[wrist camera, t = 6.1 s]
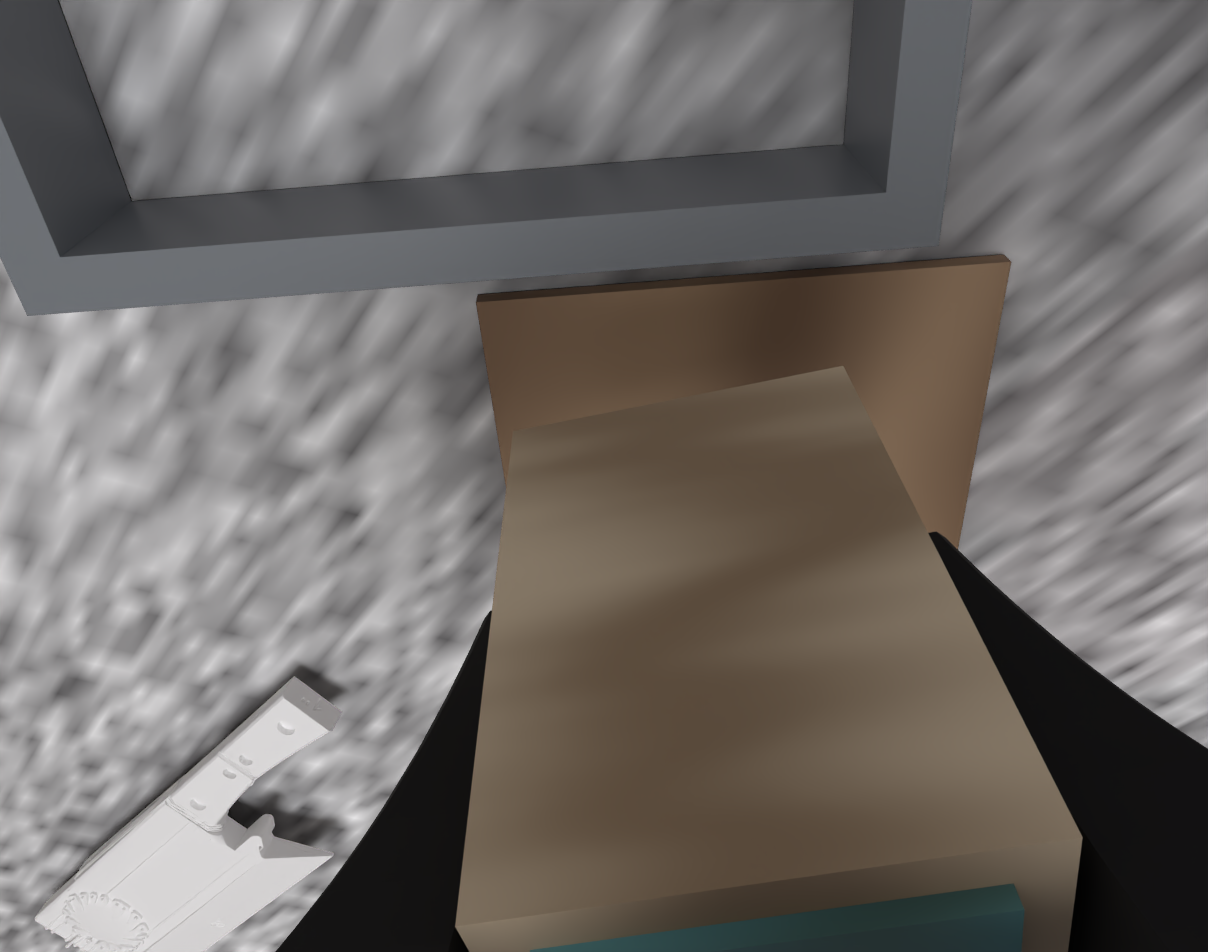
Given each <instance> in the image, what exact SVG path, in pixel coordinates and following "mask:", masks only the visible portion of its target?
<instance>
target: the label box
mask: <svg viewBox="0 0 1208 952" xmlns="http://www.w3.org/2000/svg"><path fill="white" fill-rule="evenodd" d="M1082 839H1083V837H1082V835H1081V833H1080V831H1079V829H1078V827H1077V825H1076V823H1075V821H1074V819H1073V818H1072V816H1071V814H1070V812H1069V810H1068V808H1067V806H1066V804H1065V802H1064V800H1063V798H1062V796H1061V794H1060V792H1059V790H1058V788H1057V786H1056V784H1055V782H1054V780H1053V778H1052V776H1051V774H1050V772H1049V770H1048V768H1047V766H1046V764H1045V762H1044V760H1043V758H1042V756H1041V754H1040V753H1039V751H1038V749H1037V747H1036V745H1035V743H1034V741H1033V739H1032V737H1031V735H1030V733H1029V731H1028V729H1027V727H1026V725H1025V723H1024V721H1023V719H1022V717H1021V715H1020V713H1019V711H1018V709H1017V707H1016V705H1015V703H1014V701H1013V699H1012V697H1011V695H1010V693H1009V691H1008V689H1007V687H1006V686H1005V684H1004V682H1003V680H1002V678H1001V676H1000V674H999V672H998V670H997V668H996V666H995V664H994V662H993V660H992V658H991V656H990V654H989V652H988V650H987V648H986V646H985V644H984V642H983V640H982V638H981V636H980V634H979V632H978V630H977V628H976V626H975V624H974V622H973V620H972V619H971V617H970V615H969V613H968V611H967V609H966V607H965V605H964V603H963V601H962V599H961V597H960V595H959V593H958V591H957V589H956V587H955V585H954V583H953V581H952V579H951V577H950V575H949V573H948V571H947V569H946V567H945V565H944V563H943V561H942V559H941V557H940V555H939V553H938V552H937V550H936V548H935V546H934V544H933V542H932V540H931V538H930V536H929V534H928V532H927V530H926V528H925V526H924V524H923V522H922V520H921V518H920V516H919V514H918V512H917V510H916V508H915V506H914V504H913V502H912V500H911V498H910V496H909V494H908V492H907V490H906V488H905V487H904V485H903V483H902V481H901V479H900V477H899V475H898V473H897V471H896V469H895V467H894V465H893V463H892V461H891V459H890V457H889V455H888V453H887V451H886V449H885V447H884V445H883V443H882V441H881V439H880V437H879V435H878V433H877V431H876V429H875V427H874V425H873V423H872V421H871V420H870V418H869V416H868V414H867V412H866V410H865V408H864V406H863V404H862V402H861V400H860V398H859V396H858V394H857V392H856V390H855V388H854V386H853V384H852V382H851V380H850V378H849V376H848V374H847V372H846V370H845V368H844V366H839V367H834V368H829V369H824V370H819V371H814V372H809V373H804V374H799V375H794V376H789V377H784V378H779V379H774V380H769V381H764V382H759V383H754V384H749V385H744V386H739V387H734V388H729V389H724V390H718V391H713V392H708V393H703V394H698V395H693V396H688V397H683V398H678V399H673V400H668V401H663V402H658V403H653V404H648V405H643V406H638V407H633V408H628V409H623V410H618V411H613V412H608V413H603V414H597V415H592V416H587V417H582V418H577V419H572V420H567V421H562V422H557V423H552V424H547V425H542V426H537V427H532V428H527V429H522V430H517V431H513V435H512V444H511V452H510V461H509V469H508V478H507V487H506V495H505V504H504V512H503V521H502V529H501V538H500V547H499V555H498V564H497V572H496V581H495V589H494V598H493V607H492V615H491V624H490V632H489V641H488V649H487V658H486V667H485V675H484V684H483V692H482V701H481V709H480V718H479V727H478V735H477V744H476V752H475V761H474V769H473V778H472V787H471V795H470V804H469V812H468V821H467V829H466V838H465V847H464V855H463V864H462V872H461V881H460V889H459V898H458V907H457V915H456V924H455V927H456V929H457V931H458V933H459V934H460V936H461V938H462V940H463V941H464V943H465V945H466V947H467V948H468V950H469V952H1068V947H1069V939H1070V931H1071V923H1072V916H1073V908H1074V900H1075V893H1076V885H1077V877H1078V869H1079V862H1080V854H1081V846H1082Z"/></svg>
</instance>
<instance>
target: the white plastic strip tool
mask: <svg viewBox="0 0 1208 952" xmlns="http://www.w3.org/2000/svg"><path fill="white" fill-rule="evenodd" d="M341 714H342V711H341V710H339V709H338V708H337V707H335V706H334V705H333V704H331V703H330V702H329V701H327V700H326V699H325V698H323V697H322V696H321V695H319V694H318V693H317V692H315V691H314V690H312V689H311V688H310V687H308V686H307V685H306V684H304V683H303V682H302V681H300V680H299V679H298V678H296V677H295V676H294V677H293V678H291V679H290V680H289V681H288V682H287V683H286V684H285V685H284V686H283V687H282V688H280V689H279V690H278V691H277V692H276V693H275V694H274V695H273V696H272V697H271V698H269V699H268V700H267V701H266V702H265V703H264V704H263V705H262V706H261V707H260V708H258V709H257V710H256V711H255V712H254V713H253V714H252V715H251V716H250V717H249V718H247V719H246V720H245V721H244V722H243V723H242V724H241V725H240V726H239V727H238V728H236V729H235V730H234V731H233V732H232V733H231V734H230V735H229V736H228V737H227V738H225V739H224V740H223V741H222V742H221V743H220V744H219V745H218V746H217V747H215V748H214V749H213V750H212V751H211V752H210V753H209V754H208V755H206V756H205V757H204V758H203V759H202V760H201V761H200V762H199V763H198V764H196V765H195V766H194V767H193V768H192V769H191V770H190V771H189V772H188V773H186V774H185V775H184V776H182V777H181V778H180V779H179V780H180V781H179V780H178V781H179V782H178V781H177V782H175V783H174V784H173V785H172V786H171V787H170V788H168V789H167V790H166V791H165V792H166V793H165V792H164V793H165V794H164V793H163V794H164V795H163V794H162V795H163V796H162V795H160V796H159V797H158V798H159V799H158V798H157V799H158V800H157V799H156V800H157V801H156V800H155V801H156V802H155V801H153V802H152V803H151V804H153V803H154V802H155V803H154V804H153V805H151V804H150V805H151V806H150V805H149V806H150V807H149V806H148V807H149V808H148V807H146V808H145V809H144V810H146V809H147V808H148V809H147V810H146V811H144V810H143V811H144V812H143V811H142V812H143V813H142V812H141V813H142V814H141V813H139V814H138V815H137V816H136V817H138V816H139V815H140V814H141V815H140V816H139V817H138V818H136V817H135V818H136V819H135V818H134V819H135V820H134V819H132V820H131V821H130V822H129V823H131V822H132V821H133V820H134V821H133V822H132V823H131V824H129V823H128V824H129V825H128V824H127V825H128V826H127V825H126V826H127V827H126V826H124V827H123V828H122V829H124V828H125V827H126V828H125V829H124V830H122V829H121V830H122V831H121V830H120V831H121V832H120V831H119V832H120V833H121V834H120V833H119V832H117V833H116V834H115V835H117V834H118V833H119V834H118V835H117V836H115V835H114V836H115V837H114V836H113V837H114V838H113V837H112V838H113V839H114V840H113V839H112V838H110V839H109V840H108V841H107V842H108V843H107V842H106V843H107V844H106V843H105V844H106V845H105V844H104V845H105V846H106V847H105V846H104V845H102V846H101V847H100V848H99V849H100V850H99V849H98V850H99V851H98V850H97V851H98V852H100V851H101V850H102V849H103V848H104V847H105V848H104V849H103V850H102V851H101V852H100V853H98V852H97V851H96V852H97V853H98V854H97V853H96V852H95V853H96V854H97V855H96V854H95V853H93V854H92V855H91V856H90V857H91V858H90V857H89V858H90V859H92V858H93V857H94V856H95V855H96V856H95V857H94V858H93V859H92V860H91V861H90V862H89V863H87V862H88V861H89V860H90V859H89V858H88V859H89V860H88V859H87V860H88V861H87V860H86V861H87V862H86V861H85V862H86V863H87V864H86V863H85V862H84V863H83V865H82V866H81V867H80V868H79V870H80V871H79V872H77V873H76V874H75V875H74V876H73V877H72V878H71V879H70V880H69V881H68V882H66V883H65V884H64V885H63V886H62V887H61V888H60V889H59V890H58V891H56V892H55V893H54V894H53V895H52V896H51V897H50V898H49V899H48V900H47V902H46V903H45V904H44V906H43V907H42V909H41V910H40V911H39V913H38V914H37V915H36V917H35V921H37V922H38V923H40V924H41V925H43V926H45V929H46V930H47V929H48V930H49V929H50V930H51V933H52V934H53V933H56V934H58V935H60V936H61V937H63V938H65V941H66V942H67V941H70V943H68V944H67V945H66V946H65V947H66V948H68V947H70V945H71V944H72V943H73V944H74V945H73V946H74V947H76V946H78V947H80V950H81V951H82V950H85V951H86V952H204V951H205V950H206V949H208V948H209V947H210V946H212V945H213V944H214V943H216V942H217V941H219V940H220V939H221V938H223V937H224V936H225V935H227V934H228V933H229V932H231V931H232V930H233V929H235V928H236V927H238V926H239V925H240V924H242V923H243V922H244V921H246V920H247V919H248V918H250V917H251V916H252V915H254V914H255V913H257V912H258V911H259V910H261V909H262V908H263V907H265V906H266V905H267V904H269V903H270V902H271V901H273V900H274V899H275V898H277V897H278V896H280V895H281V894H282V893H284V892H285V891H286V890H288V889H289V888H290V887H292V886H293V885H294V884H296V883H297V882H299V881H300V880H301V879H303V878H304V877H305V876H307V875H308V874H309V873H311V872H312V871H313V870H315V869H316V868H317V867H319V866H320V865H322V864H323V863H324V862H326V861H327V860H328V859H330V858H331V857H332V856H333V855H334V853H332V852H329V851H325V850H322V849H318V848H314V847H311V846H307V845H304V844H300V843H296V842H293V841H289V840H286V839H282V838H278V837H275V836H274V835H273V833H272V830H273V829H274V827H275V823H274V818H273V816H272V815H270V814H265V815H262V816H261V817H260V818H259V819H258V820H257V821H256V822H254V823H253V824H252V825H251V826H250V827H249V828H248V829H246V828H245V827H243V826H242V825H240V824H239V823H237V822H236V821H235V820H233V819H232V818H230V817H229V816H228V812H229V809H230V807H231V806H232V805H233V804H234V803H235V802H236V800H237V799H238V798H239V797H240V796H241V795H242V794H243V793H244V792H245V790H246V789H247V788H248V787H249V786H252V785H253V783H254V781H255V780H256V779H257V778H258V777H260V776H261V775H263V774H264V773H265V772H267V771H268V770H270V769H271V768H273V767H274V766H276V765H277V764H279V763H280V762H282V761H283V760H285V759H286V758H288V757H290V756H291V755H293V754H294V753H296V752H297V751H299V750H301V749H302V748H304V747H305V746H307V745H309V744H310V743H312V742H314V741H315V740H317V739H319V738H320V737H322V736H324V735H325V734H327V733H329V732H331V731H332V730H333V729H334V727H335V725H336V723H337V721H338V720H339V718H340V716H341ZM111 839H112V840H113V841H112V840H111ZM110 840H111V841H112V842H111V841H110ZM109 841H110V842H111V843H110V842H109ZM109 843H110V844H109ZM103 846H104V847H103ZM102 847H103V848H102ZM101 848H102V849H101ZM94 854H95V855H94ZM93 855H94V856H93ZM84 865H85V866H84ZM83 866H84V867H83ZM82 867H83V868H82ZM81 868H82V869H81Z"/></svg>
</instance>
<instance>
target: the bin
mask: <svg viewBox="0 0 1208 952" xmlns="http://www.w3.org/2000/svg"><path fill="white" fill-rule="evenodd" d="M971 6H972V0H854V10H853V24H852V38H851V52H850V65H849V79H848V93H847V107H846V121H845V134H844V145H832V146H820V147H807V148H795V149H782V150H769V151H757V152H744V153H732V154H719V155H707V156H694V157H682V158H669V159H656V160H644V161H631V162H619V163H606V164H594V165H581V166H569V167H556V168H544V169H531V170H518V171H506V172H493V173H481V174H468V175H456V176H443V177H431V178H418V179H405V180H393V181H380V182H368V183H355V184H343V185H330V186H318V187H305V188H292V189H280V190H267V191H255V192H242V193H230V194H217V195H205V196H192V197H179V198H167V199H154V200H142V201H131V199H130V197H129V194H128V191H127V188H126V186H125V183H124V180H123V177H122V175H121V172H120V169H119V167H118V164H117V161H116V158H115V156H114V153H113V150H112V147H111V145H110V142H109V139H108V136H107V134H106V131H105V128H104V126H103V123H102V120H101V117H100V115H99V112H98V109H97V106H96V104H95V101H94V98H93V95H92V93H91V90H90V87H89V85H88V82H87V79H86V76H85V74H84V71H83V68H82V65H81V63H80V60H79V57H78V55H77V52H76V49H75V46H74V44H73V41H72V38H71V35H70V33H69V30H68V27H67V24H66V22H65V19H64V16H63V14H62V11H61V8H60V5H59V3H58V0H0V258H1V260H2V262H3V264H4V266H5V269H6V271H7V273H8V275H9V277H10V279H11V282H12V284H13V286H14V288H15V290H16V292H17V295H18V297H19V299H20V301H21V303H22V305H23V307H24V310H25V312H26V314H27V316H32V315H45V314H58V313H71V312H84V311H97V310H110V309H123V308H136V307H150V306H163V305H176V304H189V303H202V302H215V301H228V300H241V299H254V298H267V297H280V296H293V295H306V294H319V293H332V292H345V291H358V290H371V289H384V288H397V287H410V286H423V285H436V284H449V283H462V282H475V281H488V280H501V279H514V278H527V277H540V276H553V275H567V274H580V273H593V272H606V271H619V270H632V269H645V268H658V267H671V266H684V265H697V264H710V263H723V262H736V261H749V260H762V259H775V258H788V257H801V256H814V255H827V254H840V253H853V252H866V251H879V250H892V249H905V248H918V247H931V246H939V239H940V231H941V224H942V217H943V210H944V202H945V195H946V188H947V181H948V173H949V166H950V159H951V152H952V144H953V137H954V130H955V122H956V115H957V108H958V101H959V93H960V86H961V79H962V72H963V64H964V57H965V50H966V43H967V35H968V28H969V21H970V13H971Z"/></svg>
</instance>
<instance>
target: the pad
mask: <svg viewBox="0 0 1208 952" xmlns="http://www.w3.org/2000/svg"><path fill="white" fill-rule="evenodd" d="M1010 266H1011V261H1010V260H1009V259H1008V258H1007V257H1006V256H1005V255H991V256H978V257H965V258H952V259H938V260H925V261H912V262H899V263H886V264H873V265H860V266H847V267H834V268H821V269H808V270H794V271H781V272H768V273H755V274H742V275H729V276H716V277H703V278H690V279H677V280H663V281H650V282H637V283H624V284H611V285H598V286H585V287H572V288H559V289H546V290H533V291H519V292H506V293H493V294H480V295H478V296H477V300H476V305H477V312H478V318H479V324H480V330H481V336H482V342H483V349H484V355H485V361H486V367H487V373H488V379H489V385H490V392H491V398H492V404H493V410H494V416H495V422H496V428H497V435H498V441H499V447H500V453H501V459H502V465H503V471H504V478H505V484H506V487H507V478H508V469H509V461H510V452H511V444H512V435H513V431H517V430H522V429H527V428H532V427H537V426H542V425H547V424H552V423H557V422H562V421H567V420H572V419H577V418H582V417H587V416H592V415H597V414H603V413H608V412H613V411H618V410H623V409H628V408H633V407H638V406H643V405H648V404H653V403H658V402H663V401H668V400H673V399H678V398H683V397H688V396H693V395H698V394H703V393H708V392H713V391H718V390H724V389H729V388H734V387H739V386H744V385H749V384H754V383H759V382H764V381H769V380H774V379H779V378H784V377H789V376H794V375H799V374H804V373H809V372H814V371H819V370H824V369H829V368H834V367H839V366H844V368H845V370H846V372H847V374H848V376H849V378H850V380H851V382H852V384H853V386H854V388H855V390H856V392H857V394H858V396H859V398H860V400H861V402H862V404H863V406H864V408H865V410H866V412H867V414H868V416H869V418H870V420H871V421H872V423H873V425H874V427H875V429H876V431H877V433H878V435H879V437H880V439H881V441H882V443H883V445H884V447H885V449H886V451H887V453H888V455H889V457H890V459H891V461H892V463H893V465H894V467H895V469H896V471H897V473H898V475H899V477H900V479H901V481H902V483H903V485H904V487H905V488H906V490H907V492H908V494H909V496H910V498H911V500H912V502H913V504H914V506H915V508H916V510H917V512H918V514H919V516H920V518H921V520H922V522H923V524H924V526H925V528H926V530H927V532H928V533H930V532H936V531H937V532H938V533H940V534H941V535H943V536H944V537H946V538H947V539H948V540H949V541H950V542H951V543H952V544H953V545H954V546H955V547H956V548H957V549H958V546H959V540H960V535H961V529H962V524H963V519H964V513H965V508H966V502H967V497H968V492H969V486H970V481H971V476H972V470H973V465H974V459H975V454H976V449H977V443H978V438H979V432H980V427H981V422H982V416H983V411H984V406H985V400H986V395H987V389H988V384H989V379H990V373H991V368H992V363H993V357H994V352H995V346H996V341H997V336H998V330H999V325H1000V319H1001V314H1002V309H1003V303H1004V298H1005V293H1006V287H1007V282H1008V276H1009V271H1010Z"/></svg>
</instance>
